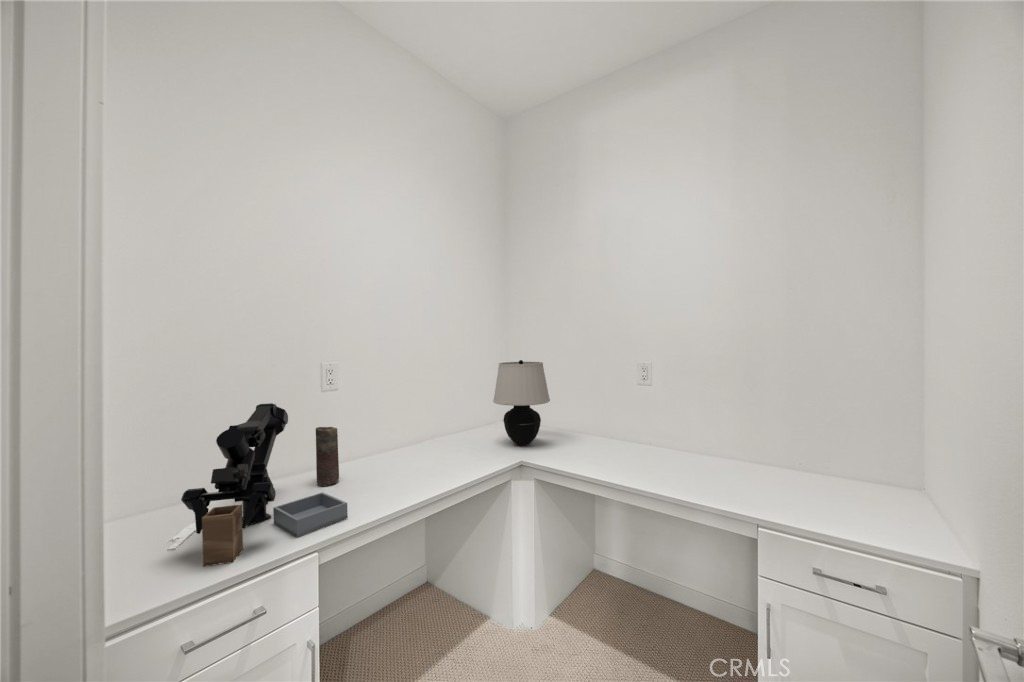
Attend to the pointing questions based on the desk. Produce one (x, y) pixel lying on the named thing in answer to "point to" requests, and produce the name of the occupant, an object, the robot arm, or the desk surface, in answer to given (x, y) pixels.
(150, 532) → the desk surface
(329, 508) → the tray
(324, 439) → the candle
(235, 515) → the walnut crate
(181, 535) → the white angle bracket
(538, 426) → the table lamp
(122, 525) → the desk surface
